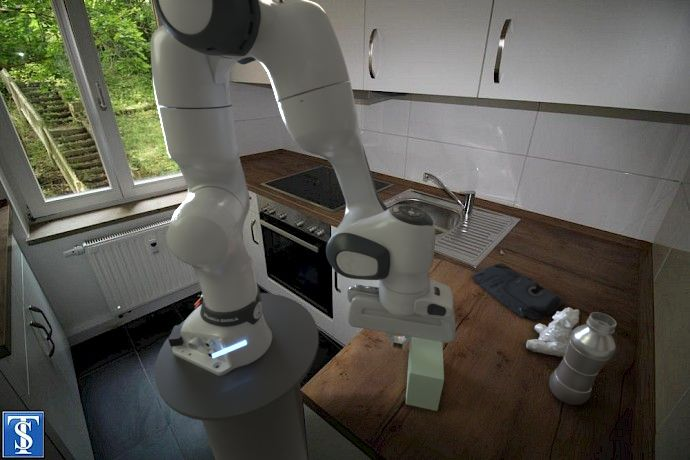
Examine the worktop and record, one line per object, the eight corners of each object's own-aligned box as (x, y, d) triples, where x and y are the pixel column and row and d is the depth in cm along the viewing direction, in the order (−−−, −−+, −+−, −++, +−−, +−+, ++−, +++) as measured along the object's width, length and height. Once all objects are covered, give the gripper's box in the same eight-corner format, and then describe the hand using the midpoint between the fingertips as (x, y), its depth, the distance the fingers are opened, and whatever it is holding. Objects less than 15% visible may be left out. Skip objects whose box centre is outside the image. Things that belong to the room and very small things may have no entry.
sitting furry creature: (535, 326, 79) (549, 288, 74) (575, 344, 74) (594, 305, 69) (523, 348, 73) (538, 308, 68) (566, 369, 68) (586, 328, 62)
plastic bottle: (541, 377, 66) (573, 304, 57) (576, 383, 65) (615, 309, 56) (552, 406, 61) (589, 329, 51) (591, 413, 59) (637, 336, 50)
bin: (405, 404, 61) (409, 372, 57) (409, 351, 72) (413, 322, 68) (437, 411, 60) (444, 379, 56) (436, 356, 71) (441, 327, 67)
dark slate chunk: (503, 266, 103) (507, 253, 101) (568, 307, 85) (574, 294, 83) (467, 276, 98) (470, 264, 96) (528, 323, 80) (533, 309, 78)
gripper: (343, 294, 57) (344, 348, 63) (462, 311, 52) (450, 368, 59) (351, 274, 62) (351, 326, 68) (459, 288, 58) (448, 342, 64)
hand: (397, 346), depth 63 cm, fingers closed
